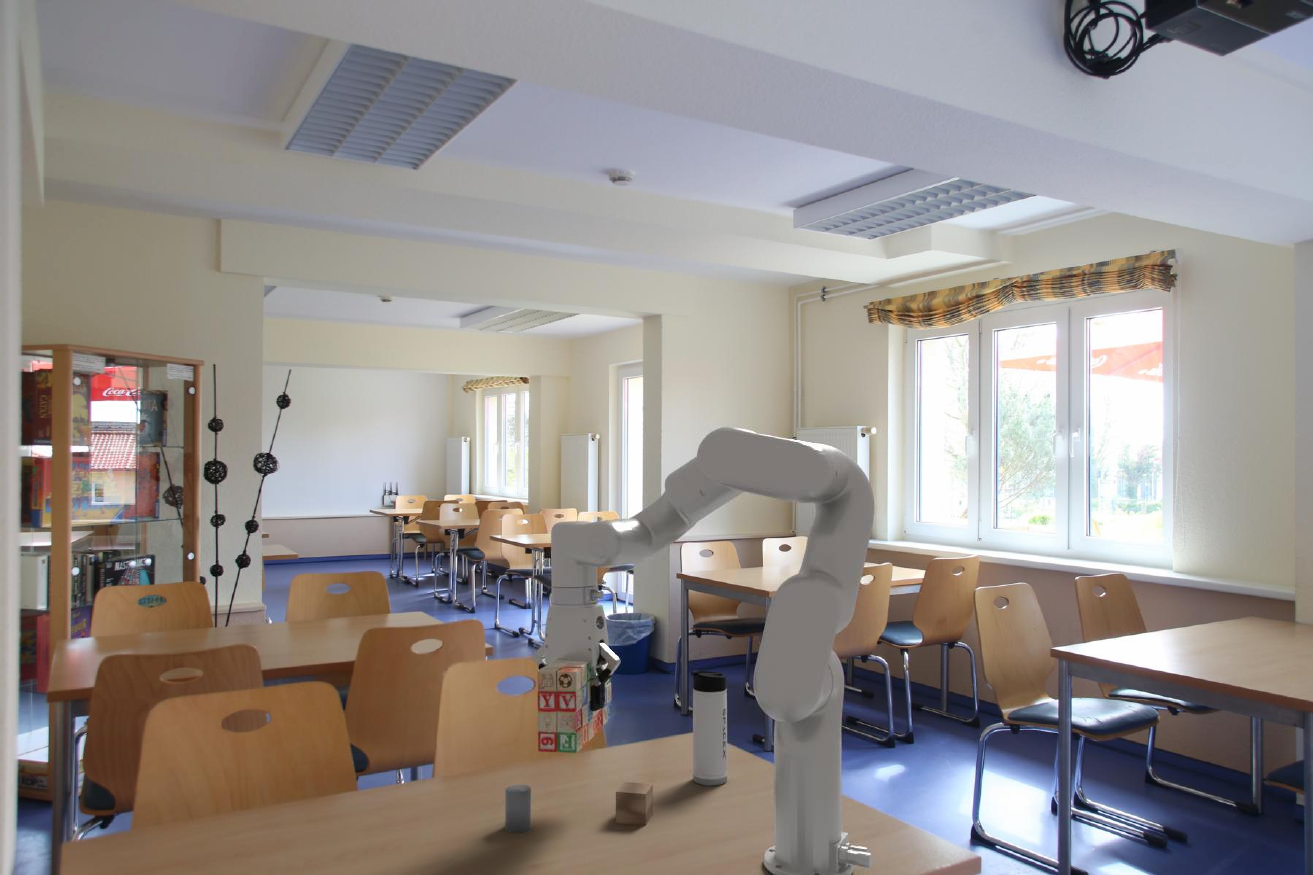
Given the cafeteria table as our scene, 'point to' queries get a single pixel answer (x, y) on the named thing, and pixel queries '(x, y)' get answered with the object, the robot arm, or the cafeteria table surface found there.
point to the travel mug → (709, 728)
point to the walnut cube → (634, 803)
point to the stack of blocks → (568, 707)
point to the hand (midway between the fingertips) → (576, 706)
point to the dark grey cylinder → (518, 808)
